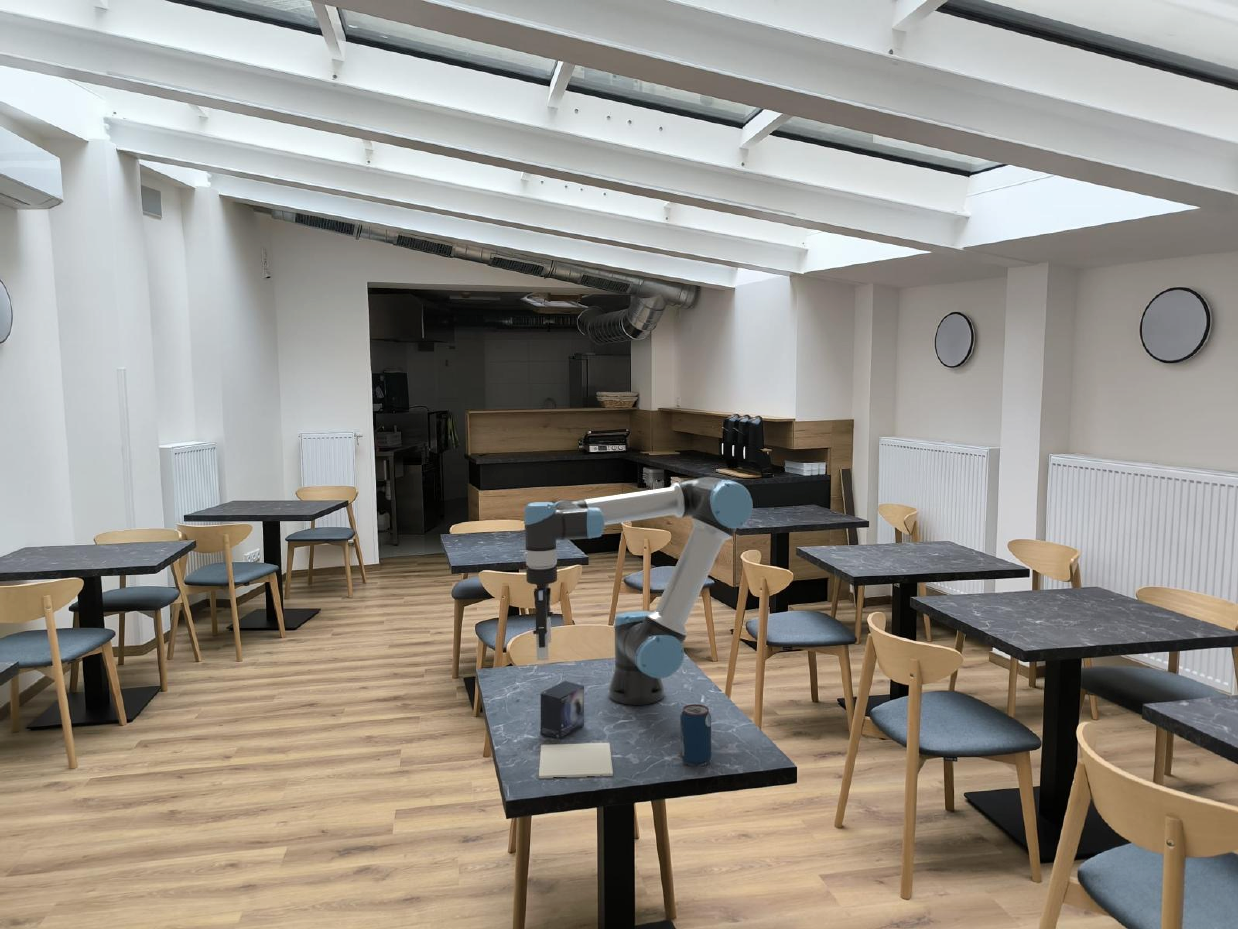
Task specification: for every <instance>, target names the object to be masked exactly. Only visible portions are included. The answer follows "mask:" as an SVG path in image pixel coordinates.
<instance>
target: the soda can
mask: <svg viewBox="0 0 1238 929" xmlns="http://www.w3.org/2000/svg"><path fill="white" fill-rule="evenodd" d="M679 727H680V728H679V729H680V730H679V731H680V732H679V733H680V734H679V737H680V738H679V742H680V745H679V746H680V750H679V752H680V754H679V755H680V758H681V759H682V761H683V763H684V762H685V763H684V764H686V763H687V764H690V765H702V764H705V763H707V762H708V763H709V761H710V760H711V758H712V715H711V713H710V710H709V708H708V706H705V705H703V704H688V705H685V706H684V707H682V712H681V714H680V722H679ZM708 763H707V764H708ZM687 764H686V765H687ZM690 765H689V766H690ZM705 765H706V764H705Z"/></svg>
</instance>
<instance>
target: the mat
mask: <svg viewBox="0 0 1238 929" xmlns="http://www.w3.org/2000/svg"><path fill="white" fill-rule="evenodd" d="M610 745H611V744H610V742H589V743H588V742H587V743H559V744H556V743H555V744H541V745H540V753H539V754H540V755H539V768H538V769H539V770H538V779H539V778H540V779H554V778H553V777H567V778H586V777H587V776H595V777H613V776H614V770H613V763H612V755H611V753H612V752H611V746H610ZM600 775H602V776H600ZM587 778H588V777H587Z"/></svg>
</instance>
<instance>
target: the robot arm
mask: <svg viewBox="0 0 1238 929" xmlns="http://www.w3.org/2000/svg"><path fill="white" fill-rule="evenodd" d="M753 507H754V506H753V499H752V496H751V493H750V492H749V489H747V488H746V487H745V486H744V485H743V484H741V483H739V482H737V481H734V480H731V479H725V478H719V477H714V476H704V477H698V478H693V479H690V480H688V479H687V480H683V481H678V482H673V483H672V484H671V485H670V486H669V487H663V488H657V489H656V488H654V489H648V490H643V491H642V490H641V491H634V492H629V493H628V492H626V493H621V494H614V495H607V496H600V497H599V496H598V497H593V498H586V499H579V500H573V501H569V500H559V501H557V502H551V501H544V502H543V501H536V502H530V503H528V504H526V506H525V507H524V519H523V520H524V522H523V524H524V540H525V544H524V545H525V552H523V553H522V556H523V557H524V558H525V564H526V566H527V567H526V568H525V574H526V577H525V578H526V582H527V583H528V584H530V585H535V586H536V587H535V588H534V590H533V597H534V608H535V630H533V631H532V634H533V635H535V641H536V642H535V643H536V661H549V644H550V643H552V629H551V627H552V626H551V625H552V624H551V623H552V622H551V617H553V616H554V612H553V611H551V610H552V608H551V595H552V590H551V587H549V584H550V585H551V584H554V583H556V582H557V581H558V567H557V566H556V565H557V563H558V555H557V554H558V549H557V548H558V547H557V541H568V540H582V539H589V540H590V539H593V538H599V537H602V535H603V534H604V531H605V526H608V525H613V524H614V525H615V524H621V523H626V522H628V523H629V522H635V521H640V520H641V521H642V520H648V519H654V518H655V519H656V518H662V517H667V516H675V517H676V518H684V517H689V518H690V517H691V523H692V526H693V528H692V530H691V532H690V535H689V537H688V539H687V541H686V543H685V545H684V547H683V549H682V552H681V554H680V556H679V558H678V561H677V563H676V564H675V567H674V569H673V571H672V573H671V575H670V577H669V579H668V581H667V584H666V586H665V588H664V591H663V593H662V594H661V596H660V599H659V601H658V604H656V607H655V609H654V610H653V611H649V610H648V611H647V610H640V611H638V610H636V611H627V612H622V613H618V614H616V616H615V617H614V625H613V628H614V670H613V673H612V676H611V680H610V683H609V686H608V697H609V699H611V700H612V701H613V702H616V703H617V704H618V703H619V704H624V705H630V706H631V705H633V706H643V705H648V704H653V703H657V702H659V701H661V700H662V699H664V698H665V697H664V696H665V686H664V683H663V679H665V678H668V677H671V676H673V675H674V674H675V673H677V671H679V669H680V668H681V666H682V665H683V663H684V658H685V650H684V642H685V640H686V638H687V636H688V632H687V629H686V624H687V622H688V620H689V618H690V615H691V613H692V611H693V608H694V606H695V604H696V603H697V600H698V597H700V596H699V595H700V594H701V591H702V589H703V587H704V585H705V582H706V581H707V578H708V576H709V574H710V572H711V570H712V567H713V566H714V563H715V561H716V559H717V556H718V555H719V552H720V551H721V549H722V546H723V544H724V542H725V541H728V540H731V539H733V537H734V534H735V533H736V530H737V529H738V528H740V527H741V526H743V525H745V524H746V523H747V522H748V521H749V520H750V518H751V516H752V513H753Z"/></svg>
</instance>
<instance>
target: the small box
mask: <svg viewBox="0 0 1238 929" xmlns="http://www.w3.org/2000/svg"><path fill="white" fill-rule="evenodd" d="M539 699H540V701H539V702H540V726H539V728H540V731H539V733H540V735H543V736H547V737H551V738H554V739H558V740H561V739H562V738H564V737H567V736H568V735H569V734H571V733H573V732H575V731H576V730H578V729H580V728H581V727H583V726H585V685H582V684H578V683H574V682H570V681H567V680H564V681H561V682H560V683H558V684H556V685H553V686H552V687H549V688H548V689H546V690H544V691H541V692H540V698H539Z"/></svg>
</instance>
